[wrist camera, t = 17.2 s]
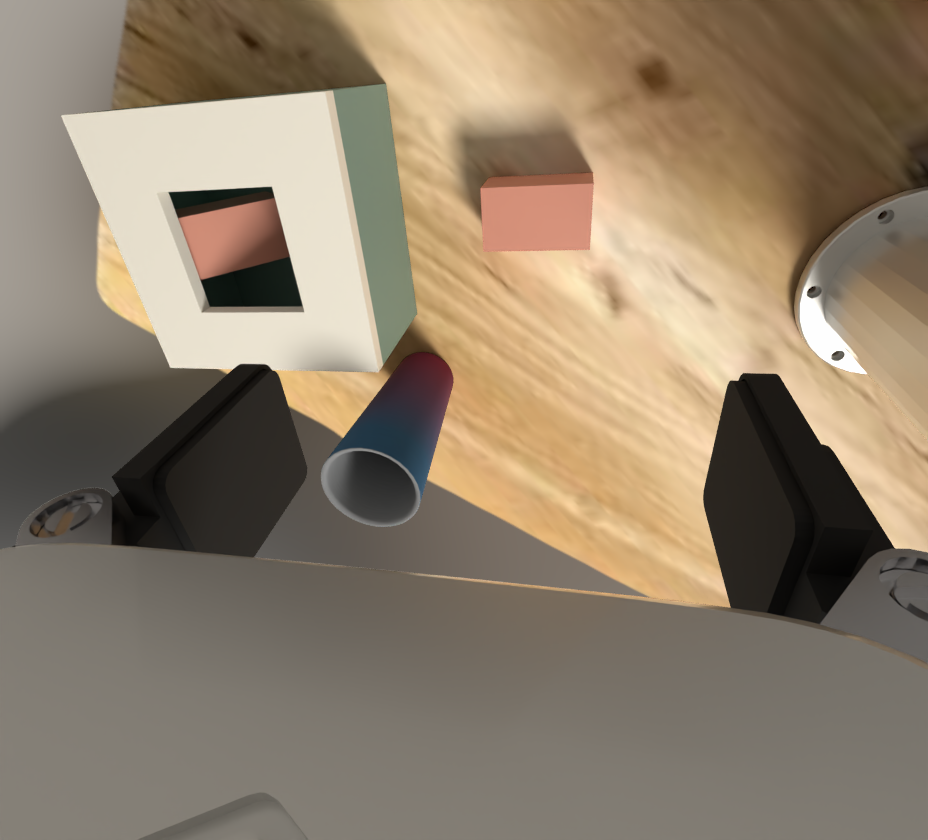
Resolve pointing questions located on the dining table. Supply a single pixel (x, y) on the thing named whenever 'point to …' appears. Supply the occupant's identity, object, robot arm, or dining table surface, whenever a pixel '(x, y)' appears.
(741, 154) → the dining table surface
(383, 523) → the cup
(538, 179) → the block
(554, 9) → the dining table surface
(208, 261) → the salmon pink block
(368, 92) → the green and cream box
